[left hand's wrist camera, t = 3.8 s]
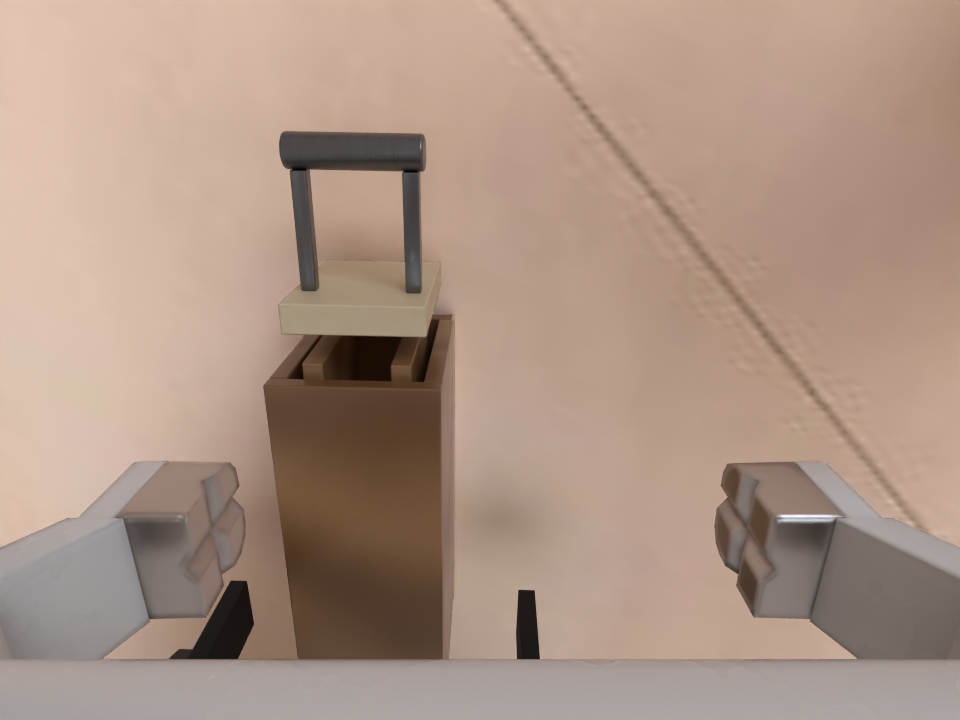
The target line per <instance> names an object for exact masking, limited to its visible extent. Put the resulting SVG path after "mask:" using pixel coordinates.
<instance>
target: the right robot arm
mask: <svg viewBox="0 0 960 720" xmlns="http://www.w3.org/2000/svg"><path fill="white" fill-rule="evenodd" d="M253 625H254V621H253V615H252V609H251V603H250V597H249V591H248V585H247V581H231V582H230V583H229V585H228V587H227V589H226V591H225V592H224V594H223V596H222V598H221V600H220V601H219V603H218V605H217V607H216V609H215V610H214V612H213V614H212V616H211V618H210V619H209V621H208V623H207V625H206V626H205V628H204V630H203V632H202V634H201V635H200V637H199V639H198V641H197V643H196V644H195V646H194V648H193V650H191V649H179V650H178V651H177V652H176V653H175V654H173V655H172V656H171V657H170V658H169V659H238V657H239V655H240V653H241V651H242V649H243V647H244V644H245V642H246V640H247V638H248V636H249V634H250V632H251V630H252V627H253ZM516 640H517V659H540V655H539V642H538V629H537V616H536V603H535V590H519V591H518V609H517V628H516Z"/></svg>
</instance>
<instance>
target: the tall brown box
mask: <svg viewBox="0 0 960 720" xmlns="http://www.w3.org/2000/svg"><path fill="white" fill-rule="evenodd" d="M428 333H429V364H428V368H427V372H426V376H425V380H424V382H396V381H352V380H308V379H304V378H303V368H302V363H303V362H304V361H305V359H306V358H307V357H308V355H309V354H310V353H311V351H312V350H313V349H314V347H315V346H316V345H317V343H318V342H319V341H320V339H321V338H322V337H323V335H305V336H304V337H303V339H302V340H301V341H300V342H299V343H298V345H297V346H296V347H295V348H294V349H293V351H292V352H291V353H290V354H289V355H288V357H287V358H286V359H285V360H284V362H283V363H282V364H281V365H280V366H279V368H278V369H277V370H276V371H275V372H274V374H273V375H272V376H271V377H270V379H269V380H268V381H267V382H266V383H265V384H264V386H263V387H264V395H265V403H266V411H267V418H268V426H269V434H270V442H271V450H272V457H273V465H274V473H275V481H276V489H277V496H278V504H279V512H280V520H281V528H282V536H283V543H284V551H285V559H286V567H287V575H288V582H289V590H290V598H291V606H292V614H293V621H294V629H295V637H296V645H297V653H298V659H449V647H450V634H451V621H452V608H453V598H454V411H455V315H432V318H431V322H430V325H429V329H428Z"/></svg>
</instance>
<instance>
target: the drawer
mask: <svg viewBox="0 0 960 720" xmlns="http://www.w3.org/2000/svg"><path fill="white" fill-rule="evenodd" d="M279 151H280V157H281V161H282V164H283V166H284V167H285V168H287V169H292V170H290V178H291V188H292V198H293V209H294V219H295V230H296V240H297V251H298V261H299V271H300V282H301V284H300V285H299V286H298V287H297V288H296V289H295V290H293V291H292V292H291V293H290V294H289V295H288V296H287V297H286V298H285V299H283V300H282V301H281V302H280V303H279V305H278V306H279V315H280V324H281V333H282V334H300V335H323V337H322V338H321V339H320V341H319V342H318V343H317V345H316V346H315V347H314V349H313V350H312V351H311V353H310V354H309V355H308V357H307V358H306V359H305V361H304V362H303V363H302V368H303V378H304V379H308V380H352V381H396V382H424V380H425V376H426V372H427V368H428V364H429V333H428V329H429V325H430V322H431V318H432V315H433V311H434V308H435V304H436V301H437V297H438V294H439V291H440V287H441V263H440V262H422V243H421V190H420V172H422V171H424V170H425V166H426V141H425V137H424V135H423V134H404V133H352V132H300V131H284V132H282V134H281V136H280V141H279ZM309 169H311V170H362V171H404V172H403V173H402V182H403V216H404V250H405V261H360V260H327V261H325V262H324V263H323V264H322V265H321V266H320V267H319V268H318V263H317V251H316V239H315V227H314V215H313V204H312V192H311V180H310V170H309Z"/></svg>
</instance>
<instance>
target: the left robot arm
mask: <svg viewBox="0 0 960 720" xmlns="http://www.w3.org/2000/svg"><path fill="white" fill-rule="evenodd" d="M238 487H239V482H238V477H237V472H236V468H235V467H234V466H233V465H232V464H231V463H226V462H175V461H172V462H168V461H142V462H136V463H133V464H132V465H131V466H130V467H129V468H128V469H127V470H126V471H125V472H124V473H123V474H122V475H121V476H120V477H119V478H118V479H117V480H116V481H115V482H114V483H113V484H112V485H111V486H110V487H109V488H108V489H107V490H106V491H105V492H104V493H103V494H102V495H101V496H100V497H99V498H98V499H97V500H96V501H95V502H94V503H93V504H92V505H91V506H89V507H88V508H87V509H86V510H85V511H84V512H83V513H82V514H81V515H80V516H79V517H78V518H67V519H65V520H62V521H60V522H58V523H55V524H53V525H51V526H49V527H46V528H44V529H42V530H40V531H37V532H35V533H33V534H30V535H28V536H26V537H24V538H21V539H19V540H17V541H15V542H12V543H10V544H8V545H5V546H3V547H1V548H0V720H960V548H959V547H957V546H954V545H952V544H950V543H948V542H945V541H943V540H941V539H938V538H936V537H934V536H932V535H929V534H927V533H925V532H923V531H920V530H918V529H916V528H914V527H911V526H909V525H907V524H905V523H902V522H900V521H898V520H895V519H893V518H882V517H881V516H880V515H879V514H878V513H877V512H876V511H875V510H874V509H873V508H872V507H871V506H870V505H869V504H868V503H867V502H866V501H865V500H863V499H862V498H861V497H860V496H859V495H858V494H857V493H856V492H855V491H854V490H853V489H852V488H851V487H850V486H849V485H848V484H847V483H846V482H845V481H844V480H843V479H842V478H841V477H840V476H839V475H838V474H837V473H836V472H835V471H834V470H833V469H832V468H831V467H830V466H829V465H828V464H827V463H824V462H821V461H800V462H764V463H731V464H727V466H726V468H725V470H724V472H723V476H722V481H721V487H722V489H723V490H724V492H725V493H726V495H727V496H728V498H727V499H726V500H725V501H724V502H723V503H722V504H721V505H720V506H719V507H718V508H717V510H716V518H715V525H714V527H715V538H716V545H717V548H718V551H719V554H720V556H721V558H722V560H723V562H724V564H725V566H727V567H728V568H730V569H731V570H733V571H734V572H736V573H737V574H738V579H737V584H736V586H737V588H738V590H739V592H740V593H741V595H742V597H743V599H744V601H745V602H746V604H747V606H748V608H749V610H750V611H751V613H752V615H753V617H759V618H796V619H811V620H810V622H812V623H813V624H814V625H815V626H817V627H818V628H819V629H821V630H822V631H823V632H824V633H826V634H827V635H828V636H829V637H831V638H832V639H833V640H835V641H836V642H837V643H838V644H840V645H841V646H842V647H844V648H845V649H846V650H847V651H849V652H850V653H851V654H852V655H854V656H855V657H856V658H858V659H103V658H104V657H105V656H106V655H108V654H109V653H110V652H112V651H113V650H114V649H115V648H117V647H118V646H119V645H121V644H122V643H123V642H124V641H126V640H127V639H128V638H129V637H131V636H132V635H133V634H135V633H136V632H137V631H138V630H140V629H141V628H142V627H144V626H145V625H146V624H147V623H149V621H150V620H149V619H164V618H199V617H207V615H208V613H209V611H210V610H211V608H212V606H213V604H214V602H215V601H216V599H217V597H218V595H219V593H220V592H221V590H222V588H223V586H224V584H223V579H222V574H223V573H224V572H226V571H227V570H229V569H230V568H232V567H233V566H235V564H236V562H237V560H238V558H239V556H240V554H241V552H242V547H243V543H244V539H245V517H244V510H243V508H242V507H241V506H240V505H239V504H238V503H237V502H236V501H235V500H234V499H233V498H232V496H233V495H234V493H235V492H236V490H237V489H238Z"/></svg>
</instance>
